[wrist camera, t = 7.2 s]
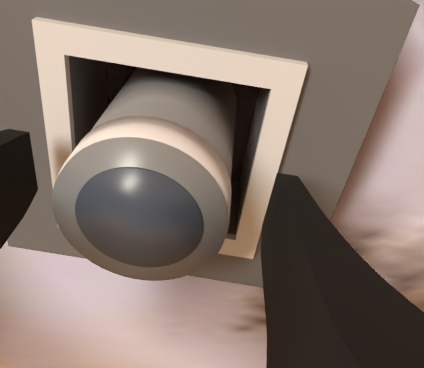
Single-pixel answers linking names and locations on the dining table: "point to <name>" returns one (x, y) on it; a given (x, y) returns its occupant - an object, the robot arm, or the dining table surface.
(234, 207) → the grey frame block
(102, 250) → the lens
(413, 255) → the dining table surface
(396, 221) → the dining table surface
